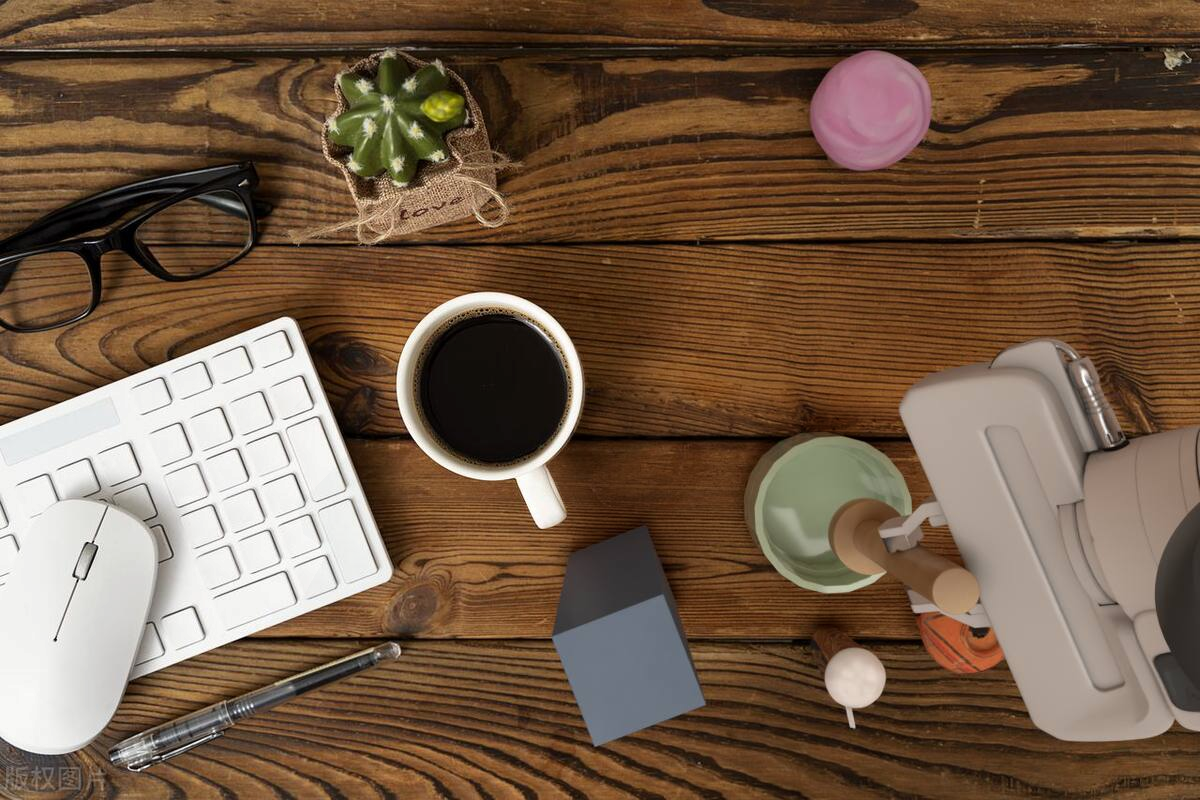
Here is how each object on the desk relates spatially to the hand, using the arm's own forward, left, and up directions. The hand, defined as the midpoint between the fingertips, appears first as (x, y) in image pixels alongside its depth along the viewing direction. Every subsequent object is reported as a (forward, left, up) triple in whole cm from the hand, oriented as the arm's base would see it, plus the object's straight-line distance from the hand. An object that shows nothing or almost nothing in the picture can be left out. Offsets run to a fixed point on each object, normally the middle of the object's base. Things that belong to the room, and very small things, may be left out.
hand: (899, 566), depth 50 cm
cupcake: (+28, -14, -23) cm, 39 cm away
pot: (-13, -8, -23) cm, 27 cm away
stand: (0, +17, -23) cm, 28 cm away
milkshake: (-12, +3, -23) cm, 26 cm away
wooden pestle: (0, -1, -9) cm, 9 cm away
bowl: (0, -1, -23) cm, 23 cm away
